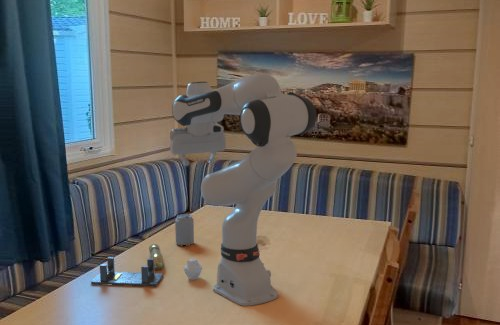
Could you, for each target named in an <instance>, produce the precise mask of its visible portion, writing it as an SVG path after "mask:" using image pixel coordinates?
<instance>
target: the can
mask: <svg viewBox="0 0 500 325" xmlns="http://www.w3.org/2000/svg"><path fill="white" fill-rule="evenodd" d="M174 222H175V225H174V226H175V230H174V232H175V244H177V245H178V244H179V245H189V244H191V245H193V244H194V242H195V227H194V225H195V224H194V223H195V222H194V218H193V215H191V214H187V213H184V214H183V213H182V214H178V215H177V216H176V218H175V221H174ZM179 245H178V246H179ZM189 246H190V245H189Z"/></svg>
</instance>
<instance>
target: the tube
mask: <svg viewBox="0 0 500 325" xmlns="http://www.w3.org/2000/svg"><path fill="white" fill-rule="evenodd" d="M148 251H149V256H150V259H154V271H156V270H159V271H161V270H163V268H164V266H165V263H164V260H163V256H162V252H161V248H160V246H159V244H157V243H152V244H150V245H149V248H148Z"/></svg>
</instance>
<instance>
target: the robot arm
mask: <svg viewBox="0 0 500 325" xmlns="http://www.w3.org/2000/svg"><path fill="white" fill-rule="evenodd" d="M171 114H172V117H173V119H174V120H175V121H176V122H177V123H178V124H179V125H181V126H182V127H179V128H177V127H176V128H173V129H172V130H171V131H170V133H169V139H170V142H169V143H170V144H169V151H170V152H171V154H173V155H175V156H180V158H181V160H182V165H183V167H186V166H187V167H188V166H189V160H188V159H186V155H187V154H188V155H191V154H202V153H203V154H204V153H210V157H207V163H208V164H213V163H214V159H215V157H216V155H217V152H223V151H225V150H226V146H227V143H226V135H225V133H224V130H225V129H224V126H223V125H221V124H220V123H219V122H223V120H224V119H225V117H226V115H233V116H235V115H236V116H239V123H240V126H241V130H242V131H243V132H244V134H245V136H246V137H247V138H248V140H250V141H251V143H253V145H255V146H256V147H255V148H254V149H252V150H251V152H249V153H248V154H247V155H246V156H244V158H241V159H239V160H238V161H235V162H233V163H232V164H229V165H228V166H226V167H223V168H221V169H219V170H217V171H214V172H211V173H209V174H206V175H205V176H204V177H203V178H202V181H201V184H200V193H201V196H202V198H203V199H204V201H205V203H206V204H207V205H210V206H223V207H224V206H225V207H226V206H231V205H235V206H234V209H233V210H232V211H231V212H230V213H229V214H228V215H227V216H225V217H224V219H223V221H222V225H221V226H222V228H221V229H222V230H221V231H222V232H221V233H222V237H221V239H222V241H221V242H222V243H221V244H220V245H221V246H220V254H221V259H220V261H219V262H218V264H217V272H216V273H217V274H216V284H215V285H214V286H213V288H212V291H213V292H215V293H217V294H218V295H221V296H222V297H224V298H226V299H228V300H230V301H231V302H234V303H235V304H237V305H239V306H246V307H247V306H256V305H260V304H265V303H269V302H271V301H274V300H276V299H277V298H278V297H279V291H277V290H276V289H275V287H273V285H271V284H272V282H271V277H272V273H271V270H270V269H267V268H266V267H265V263H263V262H262V260H261V259H260V254H261V253H260V252H261V251H260V249H259V245H258V242H257V232H258V231H257V230H258V221H259V217H260V214H261V211H262V209H263V207H264V206H265V204H266V203H267V201H268V200H269V199H270V198H271V197H272V196H273V195H274V194H275V191H276V190H277V180H278V179H280V178H281V177H283V176H284V175H285V174H286V173H287V172H288V170H289V169H290V168H291V167H292V165H293V164H294V163H295V161H296V160H297V148H296V146H295V143H294V142H293V140H291V137H292V136H295V135H303V134H305V133H308V132H309V131H311V130H312V129H313V128H314V127H315V124H316V121H317V111H316V108H315V105H314V103H313V102H312V101H311V100H310V99H309V98H307V97H306V96H305V97H304V96H303V95H299V94H296V93H295V92H294V91H293V92H292V91H290V92H288V93H283V92H282V90H281V88H280V84H279V82H278V80H277V79H276V78H275V77H274V76H272V75H271V74H267V73H257V74H256V73H255V74H249V75H247V76H243V77H242V78H239V79H236V80H235V81H232V82H230V83H228V84H225V85H223V86H220V87H218V88H216V89H214V90H213V89H212V87H211V83H209V82H208V81H193V82H190V83H188V84H187V88H186V94H180V95H178V97H176V98H175V100H174V101H173V103H172V106H171Z"/></svg>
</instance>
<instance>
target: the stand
mask: <svg viewBox="0 0 500 325" xmlns="http://www.w3.org/2000/svg"><path fill="white" fill-rule="evenodd" d="M106 260H107V262H106V263H107V264H105V263H104V264H100V265H99V273H98V274H97V275H96V276H95V277H94V278H93V279H92V280H91V281H90V285H91V284H112V285H111V286H117V285H132V286H131V287H144V286H154V287H153V288H157V287H156V286H158V285H159V284H158V283H160V282H161V281H162V279H163V278H164V273H161V272H159V273H156V272H155V270H154V259H151V257H150V258H147V259H146V261H147V262H146V263H147V264H146V265H141V267H140V268H141V272H133V271H129V272H128V271H115V270H116V269H115V257H112V256H108V257H107V259H106ZM162 277H163V278H162ZM161 278H162V279H161ZM160 280H161V281H160Z"/></svg>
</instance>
